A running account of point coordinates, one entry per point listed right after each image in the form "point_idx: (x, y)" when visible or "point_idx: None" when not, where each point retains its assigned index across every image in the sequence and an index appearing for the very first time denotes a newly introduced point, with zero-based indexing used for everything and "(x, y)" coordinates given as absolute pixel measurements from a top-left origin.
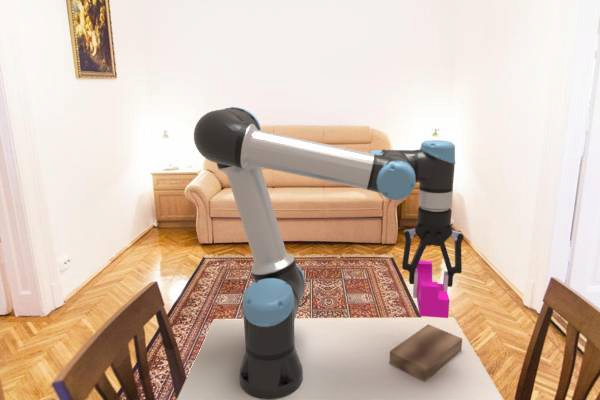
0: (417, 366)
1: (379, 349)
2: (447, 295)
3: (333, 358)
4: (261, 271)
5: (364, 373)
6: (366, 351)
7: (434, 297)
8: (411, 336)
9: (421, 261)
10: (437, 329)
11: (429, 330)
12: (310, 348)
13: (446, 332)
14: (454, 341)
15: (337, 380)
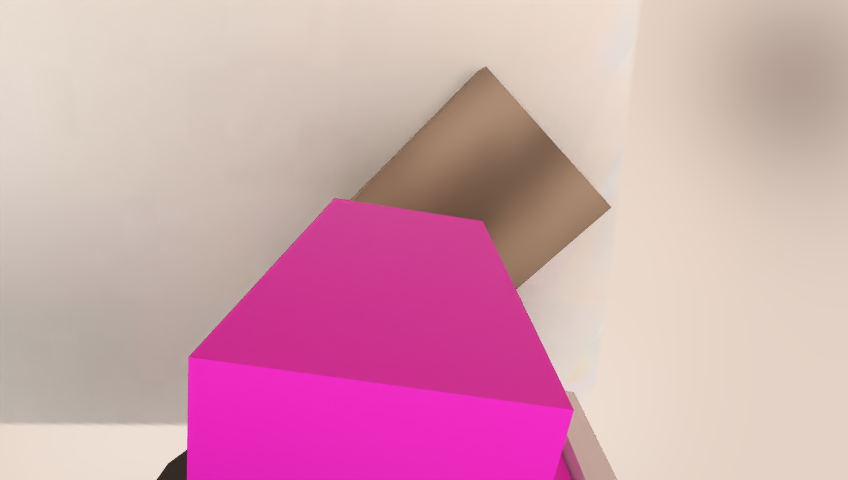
0: None
1: (239, 183)
2: None
3: (51, 244)
4: None
5: (179, 330)
6: (183, 197)
7: None
8: (370, 187)
9: (313, 426)
10: (519, 123)
11: (474, 133)
12: None
13: (555, 153)
14: (563, 231)
15: (87, 364)
